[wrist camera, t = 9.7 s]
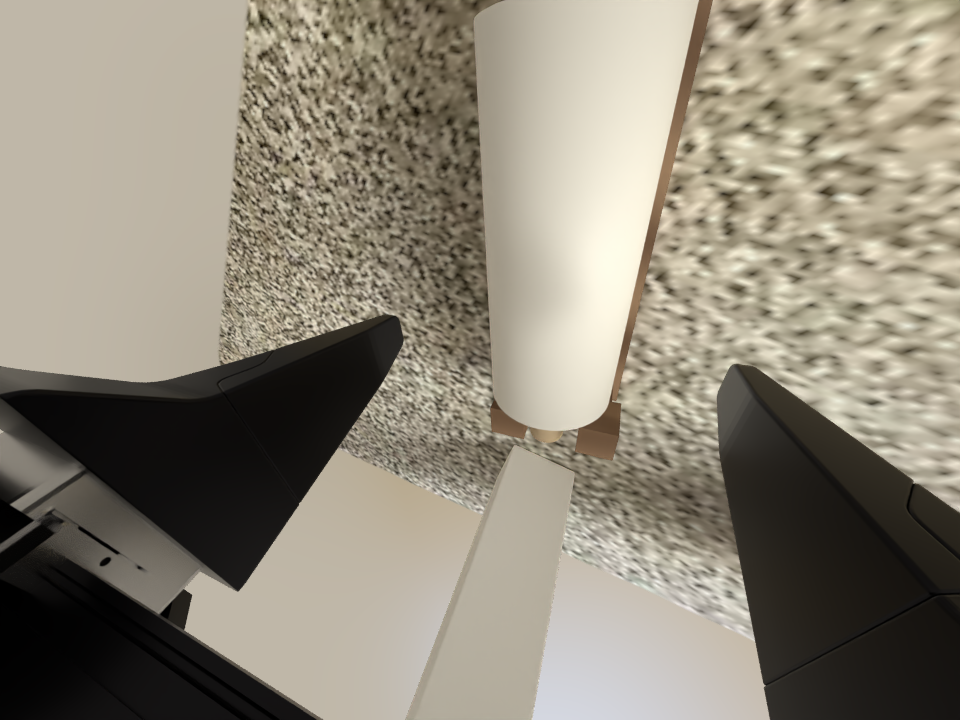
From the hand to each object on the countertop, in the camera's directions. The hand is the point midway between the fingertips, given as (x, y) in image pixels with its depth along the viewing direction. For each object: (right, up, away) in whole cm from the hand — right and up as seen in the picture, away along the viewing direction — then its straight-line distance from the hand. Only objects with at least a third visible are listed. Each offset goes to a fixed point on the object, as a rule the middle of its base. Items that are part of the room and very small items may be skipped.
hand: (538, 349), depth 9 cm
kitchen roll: (+2, +4, +5) cm, 7 cm away
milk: (+4, -11, +23) cm, 26 cm away
